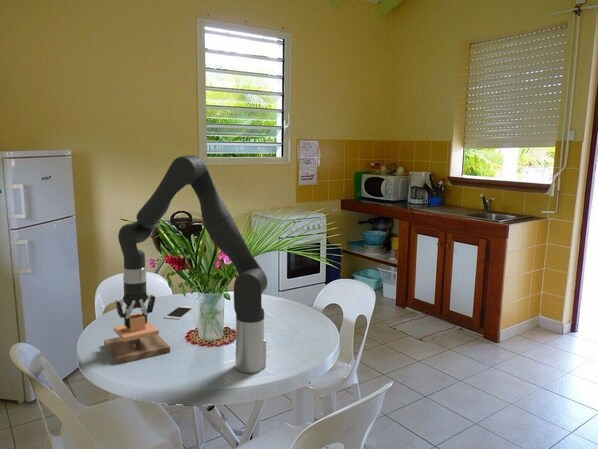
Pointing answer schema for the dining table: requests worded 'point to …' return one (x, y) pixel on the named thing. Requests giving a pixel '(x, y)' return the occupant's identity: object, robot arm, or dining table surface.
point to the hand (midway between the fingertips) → (136, 326)
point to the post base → (136, 348)
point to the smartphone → (179, 312)
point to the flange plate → (136, 328)
